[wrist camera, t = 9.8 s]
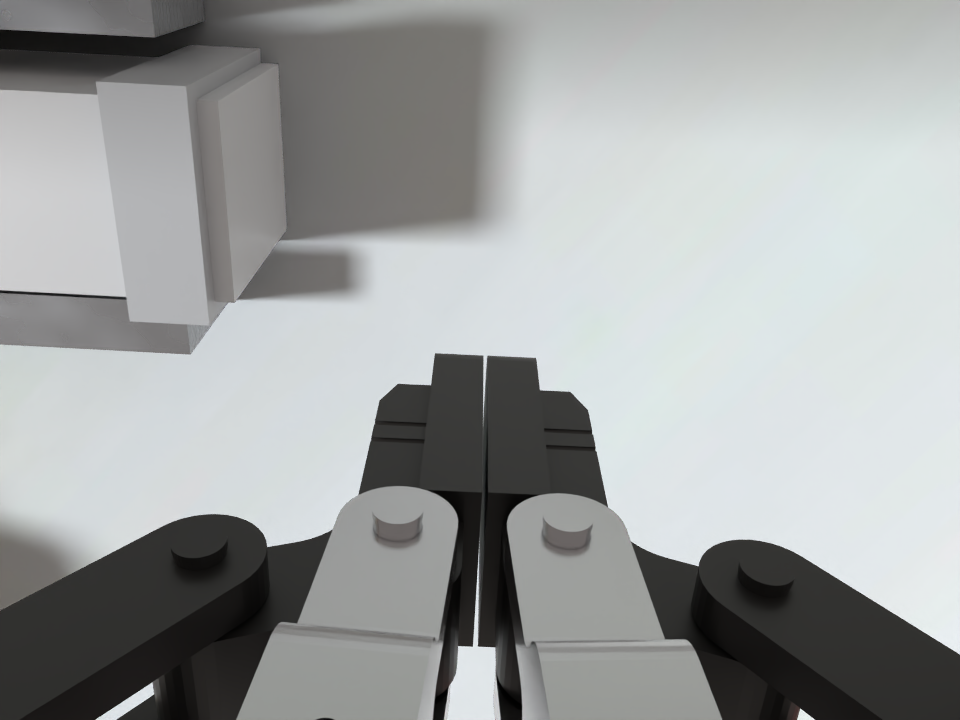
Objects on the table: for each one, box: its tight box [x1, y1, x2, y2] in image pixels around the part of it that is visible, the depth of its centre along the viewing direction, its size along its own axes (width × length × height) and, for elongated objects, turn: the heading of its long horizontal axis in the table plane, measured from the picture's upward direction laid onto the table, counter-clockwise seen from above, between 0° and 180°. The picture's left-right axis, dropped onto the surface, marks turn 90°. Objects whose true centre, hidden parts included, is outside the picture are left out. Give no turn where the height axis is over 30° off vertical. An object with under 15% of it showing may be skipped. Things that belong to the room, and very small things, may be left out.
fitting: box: [0, 45, 287, 326], centre depth 24 cm, size 10×6×7 cm, turn 87°
